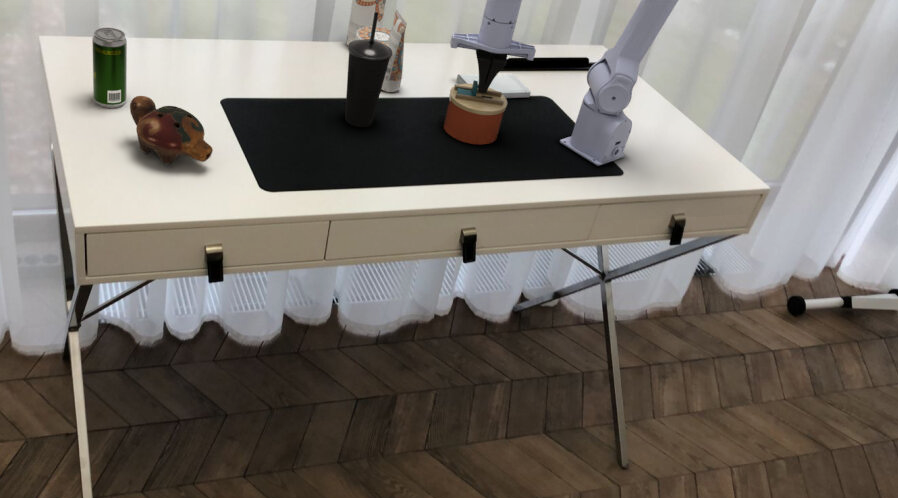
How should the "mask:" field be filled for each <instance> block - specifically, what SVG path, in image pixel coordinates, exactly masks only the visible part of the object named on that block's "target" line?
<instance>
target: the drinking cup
mask: <svg viewBox="0 0 898 498" xmlns="http://www.w3.org/2000/svg"><path fill="white" fill-rule="evenodd" d="M377 19H378V13H377V12H375V13H374V18H373V24H372V30H371V37H370V39H362V40H355V41H352V42H350V43H349V45H347V51H348V61H347V62H348V64H347V80H346V96H345V114H344V115H345V116H344V120H345V123H347V124H348V125H350V126H353V127H356V128H367V127H370V126H371V125H372V123H373V121H374V117H375V112H376V110H377V106H378V102H379V99H380V95H381V92H382V89H381V88H382V85H383V81H384V78H385V74H386V70H387V67H388V63H389V60H390V58H391V57H392V54H393V52H392V50H391V49H390V48H389V47H388V46H387V45H385V44H383V43H381V42H379V41H376V40H374V37H375V31H376V25H377Z"/></svg>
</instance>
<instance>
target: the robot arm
mask: <svg viewBox="0 0 898 498" xmlns="http://www.w3.org/2000/svg"><path fill="white" fill-rule="evenodd" d="M522 2H523V0H486V2H485V7H484V11H483V15H482V18H481V24H480V28H479V33H458V32H457V33H456V32H451V37H450V43H449V44H450V45H449V46H450V48H451V49H457V48H461V49H467V50H472V51H475V55H476V60H477V65H478V66H477V67H478V74H479V84H478V91H479V92H480V93H486V92H487V90H488V88H489V86H490V84H491V82H492V81H493V79H494V78H495V76H496V75H497V74H500V72H501V70H502V69H504V67H505V66H506V65H507V62H508V56H509V57H516V58H521V59H522V58H523V59H526V60H527V61H534V58H535V55H536V51H537V49H536V46H535V45H531V44H527V43H523V42H520V41H516V40H513V37H514V33H515V29H516V26H517V21H518V18H519V14H520V9H521V6H522ZM678 2H679V0H640V2H639V4H638V5H637V7H636V9H635V10H634V12H633V14H632V16H631V17H630V19H629V20H628V23H627V24H626V25H625V28H624V29H623V31H622V33H621V34H620V35H619V38H618V39H617V42H615V44H614V46H613V47H611V48H609V49H607V50H606V51H604V53H603V55H602V57H601V58H600V59H599V60H597V61H596V62H595V63H593V64H592V65H591V66H590V68H589V69H588V71H587V74H586V83H587V85H588V87H589V88H588V91H587V92H586V93H585V94H584V96H583V98H582V102H581V104H580V107H579V110H578V114H577V117H576V120H575V123H574V128H573V130H572V133H571V136H568V137H565V138H562V139H560V140H559V143H560V144H561V145H563V146H565V147H566V148H568V149H569V150H571V151H573V152H574V153H576V154H577V155H579V156H580V157H582V158H584V159H586V161H589V162H590V163H592V164H594V165H595V166H597V167H599V166H602V165H606V164H608V163H610V162H611V163H612V162H614V161H617V160H619V159H622V158H624V157H625V154H624V151H625V148H626V146H627V142H628V140H629V138H630V134H631V131H632V130H633V129H632V128H633V121H632V119H631V118H629V117H628V116H627V115H626V114H625V112H624V110H625V109H626V108H627V107H628V106H629V105H630V103H631V101H632V97H633V90H634V87H635V86H636V84H637V82H638V77H639V69H640V64H641V62H643V59H644V57H645V56H646V54H647V52H648V51H649V50H650V48H651V46H652V44H653V43H654V42H655V40H656V38H657V36H658V35H659V33H660V31H661V29H662V28H663V26H664V25H665V24H666V22H667V20H668V18H669V17H670V15H671V13H672V12H673V10H674V8H675V7H676V5H677V4H678Z"/></svg>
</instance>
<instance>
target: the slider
mask: <svg viewBox="0 0 898 498" xmlns="http://www.w3.org/2000/svg"><path fill="white" fill-rule="evenodd" d="M477 89H478V81H474V82H473V86H472V90H465V89H459V88H457V93H458V94H463V95H470V96H476V94H477Z"/></svg>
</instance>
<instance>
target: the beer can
mask: <svg viewBox="0 0 898 498" xmlns="http://www.w3.org/2000/svg"><path fill="white" fill-rule="evenodd" d="M91 39H92V42H91V43H92V84H93V86H92V88H93V93H92V94H93V99H94V102H95V103H96V104H97V105H98V106H99V107H103V108H106V109H114V108H115V109H116V108H120V107H122V106H124V105H125V103H126V101H127V61H128V60H127V59H128V58H127V50H128V49H127V48H128V47H127V46H128V45H127V44H128V43H127V38H126V32H124V31H123V30H121V29H119V28H114V27H99V28H98V29H95V30H94V31H93V36H92V38H91Z"/></svg>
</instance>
